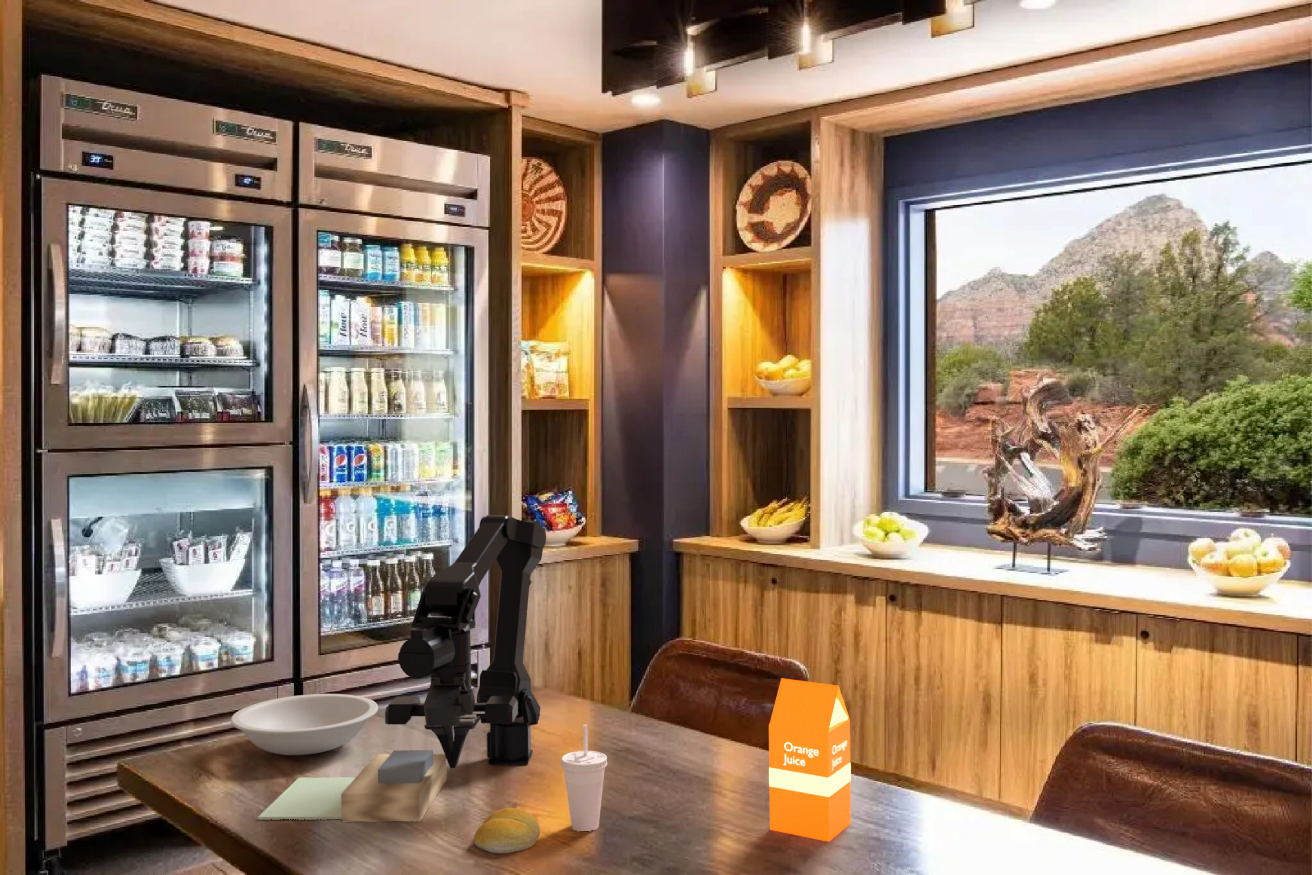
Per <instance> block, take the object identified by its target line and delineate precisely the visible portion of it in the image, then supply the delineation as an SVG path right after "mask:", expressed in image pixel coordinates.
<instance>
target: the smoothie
mask: <svg viewBox="0 0 1312 875" xmlns="http://www.w3.org/2000/svg"><path fill="white" fill-rule="evenodd" d="M582 730H583V731H582V732H583V734H582V735H583V736H582V738H583V750H578V751H577V750H576V751H572V752H568V753H566V754H564V755H563V756H561V764H560V767H561V768H562V769H563V773H564V781H565V789H566V793H567V794H566V796H567V803H568V809H569V810H568V811H569V816H570V824H571V829H572V830H573V831H575V830H578V831H577V832H579V831H589V832H592V831H591V830H593V831H595V830H597V829H599V826H600V816H601V807H602V797H603V788H604V778H605V771H606V770H605V768H606V767H607V765H608V757H607V755H606V754H605V753H602V752H601V751H595V750H589V749H588V724H583V726H582Z"/></svg>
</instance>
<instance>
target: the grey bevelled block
mask: <svg viewBox="0 0 1312 875" xmlns="http://www.w3.org/2000/svg"><path fill="white" fill-rule="evenodd" d="M433 754H434V750H433V749H432V750H431V749H429V750H426V749H425V750H424V749H423V750H422V749H421V750H420V749H419V750H417V749H416V750H413V749H412V750H411V749H410V750H407V749H406V750H405V749H403V750H401V749H400V750H393V751H392V752H391V755H390V756H389V757H388V758H387V759H386V760H385V762H384V763H383V764H382V765H381V766H380V768H379V769H378V783H420V782H421V780H422V779H423V777H424V776H425V775H426V773H427V772H428V770H429V769H430V767H431V766H432V765H433Z"/></svg>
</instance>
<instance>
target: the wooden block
mask: <svg viewBox="0 0 1312 875" xmlns="http://www.w3.org/2000/svg"><path fill="white" fill-rule="evenodd" d="M390 755H391V754H386V753H385V754H384V753H383V754H382V753H381V754H380V753H379V754H377V753H376V754H375V755H374V756H373V758H372V759H371V760H370V761H369V762H368V763H367V765H365V767H364V768H363V769H362V770H360V772H359V773H358V775H357V776H355V777H356V778H355V779H354V780H353V781H352V782H351V784H350V785H349V786H348V787H347V788H346V789H345V790H344V791H343V793H342V794H341V807H342V820H341V822H342V821H390V822H389V823H392V822H391V821H420V822H421V820H422V818H423V817H424V816H425V814H426V813H427V811H428V810H429V808H430V806H431V805H432V803H433V802H434V800H435V798H436V797H437V796H436V795H438V794H439V793H440V791H441V789H442V787H443V786H444V784H445V783H446V781H447V780H448V779H447V778H448V777H447V776H448V775H447V773H448V772H447V770H448V769H447V759H446V756H445V754H443V753H439V754H437V753H436V754H435V753H433V765H432V766H431V767H430V769H429V770H428V772H427V773H426V775H425V776H424V777H423V779H422V780H421V782H420V783H378V769H379V768H380V766H381V765H382V764H383V763H384V762H385V760H386V759H387V758H388V757H389V756H390ZM425 812H426V813H425Z"/></svg>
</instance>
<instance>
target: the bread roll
mask: <svg viewBox="0 0 1312 875" xmlns="http://www.w3.org/2000/svg"><path fill="white" fill-rule="evenodd" d="M540 835H541V830H540V824H539V822H538V820H537V819H536V818H535V816H534V815H533V814H531V813H530V812H528V811H526V810H525V809H523V808H522V809H521V808H516V807H505V808H504V807H503V808H501V809H498V810H495V812H493V813H491V814H490V815H489V816H487V817H486V818H485V819H484V821H483V823H482V824H481V825H480V826H479V827H478V828H477V829H476V831H475V834H474V837H473V841H474V844H475V846H477V847H478V848H479V849H481V850H484V851H486V852H488V853H491V854H492V853H493V854H509V853H510V854H511V853H515V851H516V852H520V851H523V850H527V849H529V848H531V847H532V846H534V845H535V843H536V842H537V840H538V839H539V837H540Z"/></svg>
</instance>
